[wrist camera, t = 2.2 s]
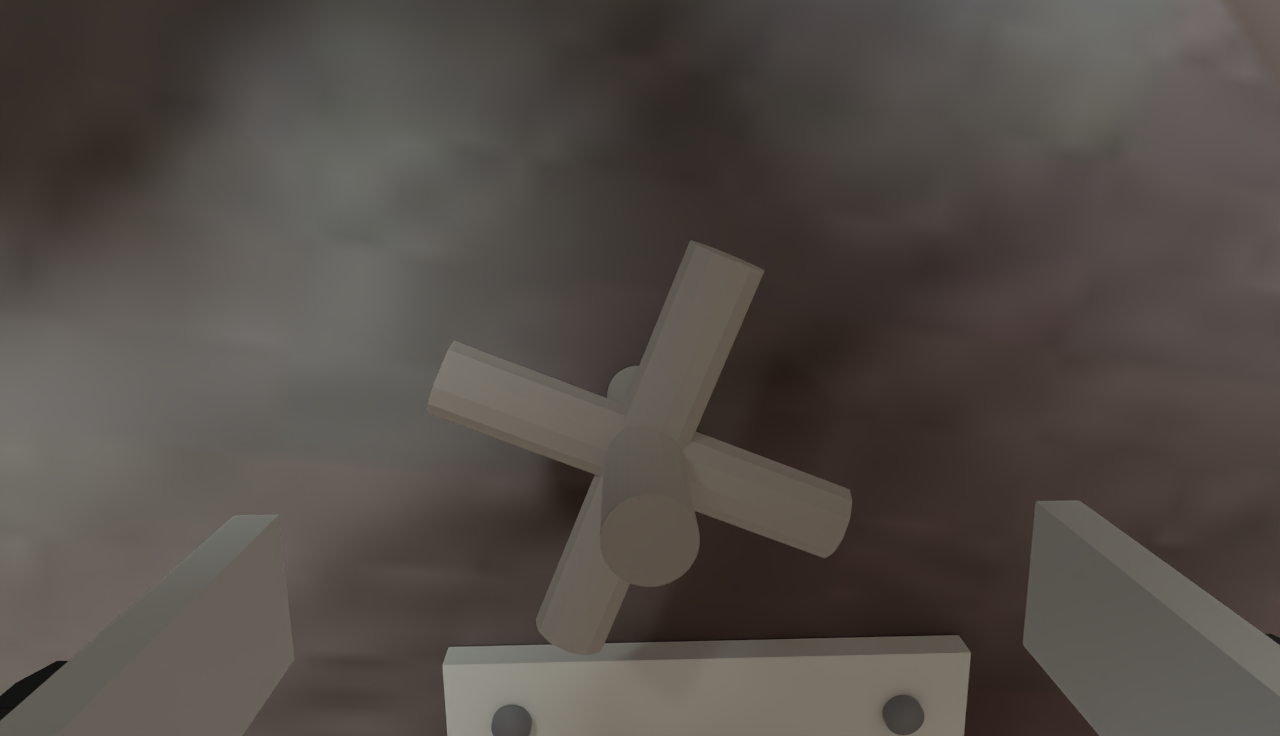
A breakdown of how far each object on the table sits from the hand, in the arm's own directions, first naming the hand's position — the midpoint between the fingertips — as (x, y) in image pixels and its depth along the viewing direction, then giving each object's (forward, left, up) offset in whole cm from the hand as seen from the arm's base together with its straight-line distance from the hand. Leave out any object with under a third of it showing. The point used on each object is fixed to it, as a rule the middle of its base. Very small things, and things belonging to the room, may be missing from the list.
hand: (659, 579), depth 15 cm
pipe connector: (0, 0, -11) cm, 11 cm away
